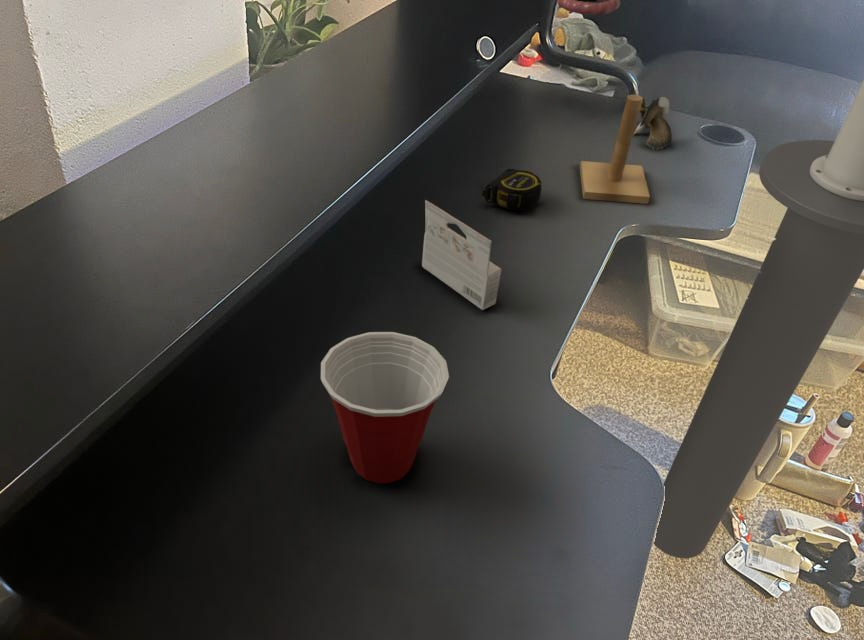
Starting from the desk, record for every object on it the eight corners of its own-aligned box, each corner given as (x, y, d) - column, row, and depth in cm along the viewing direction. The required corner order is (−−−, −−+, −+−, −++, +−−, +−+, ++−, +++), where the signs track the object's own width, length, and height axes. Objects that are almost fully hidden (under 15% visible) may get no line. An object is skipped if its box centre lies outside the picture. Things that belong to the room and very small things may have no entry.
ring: (615, -3, 115) (617, -14, 113) (621, 17, 108) (624, 5, 107) (555, -5, 115) (557, -16, 114) (558, 14, 109) (559, 3, 108)
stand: (640, 172, 110) (664, 86, 101) (647, 204, 104) (674, 114, 95) (579, 168, 111) (598, 81, 102) (583, 199, 104) (603, 109, 95)
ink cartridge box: (434, 260, 93) (440, 192, 86) (497, 304, 87) (508, 234, 80) (419, 267, 92) (424, 198, 85) (482, 312, 86) (492, 242, 79)
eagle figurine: (611, 116, 121) (628, 132, 114) (642, 79, 118) (661, 91, 111) (645, 142, 124) (663, 158, 116) (676, 105, 121) (697, 120, 113)
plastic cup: (444, 422, 73) (454, 330, 65) (434, 512, 65) (444, 421, 57) (336, 409, 74) (333, 318, 66) (314, 497, 66) (306, 405, 58)
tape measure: (505, 185, 107) (509, 161, 104) (547, 201, 104) (551, 177, 101) (480, 204, 103) (483, 180, 100) (523, 221, 100) (527, 197, 97)
